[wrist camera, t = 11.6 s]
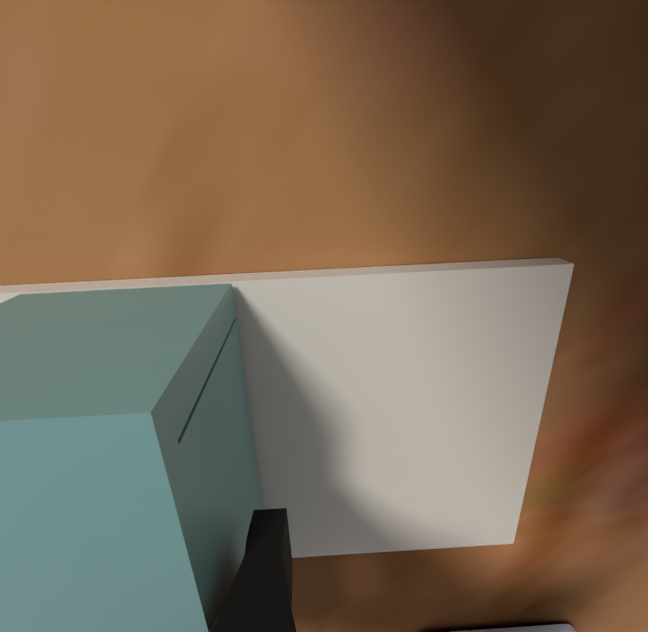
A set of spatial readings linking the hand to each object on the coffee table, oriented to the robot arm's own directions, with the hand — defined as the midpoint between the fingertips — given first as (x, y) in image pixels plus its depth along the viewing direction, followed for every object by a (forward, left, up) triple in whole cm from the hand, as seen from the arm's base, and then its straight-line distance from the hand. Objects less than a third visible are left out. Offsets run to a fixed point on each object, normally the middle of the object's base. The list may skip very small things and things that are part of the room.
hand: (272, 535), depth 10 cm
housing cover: (0, +4, -4) cm, 6 cm away
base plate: (0, 0, -4) cm, 4 cm away
